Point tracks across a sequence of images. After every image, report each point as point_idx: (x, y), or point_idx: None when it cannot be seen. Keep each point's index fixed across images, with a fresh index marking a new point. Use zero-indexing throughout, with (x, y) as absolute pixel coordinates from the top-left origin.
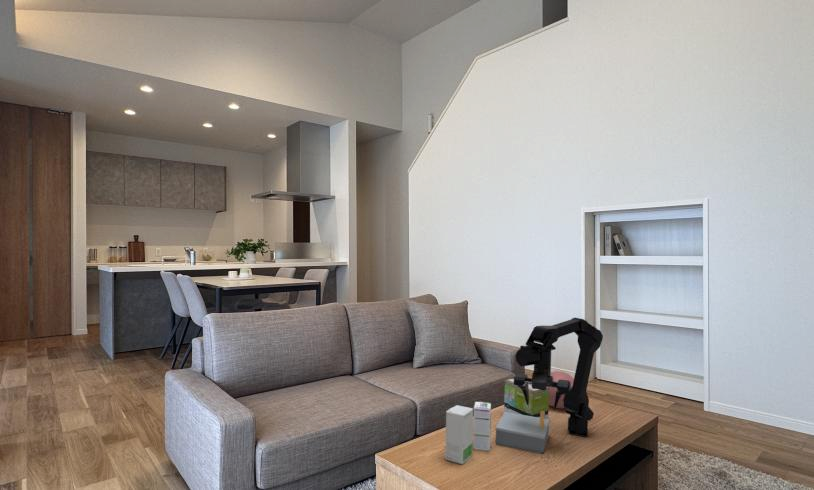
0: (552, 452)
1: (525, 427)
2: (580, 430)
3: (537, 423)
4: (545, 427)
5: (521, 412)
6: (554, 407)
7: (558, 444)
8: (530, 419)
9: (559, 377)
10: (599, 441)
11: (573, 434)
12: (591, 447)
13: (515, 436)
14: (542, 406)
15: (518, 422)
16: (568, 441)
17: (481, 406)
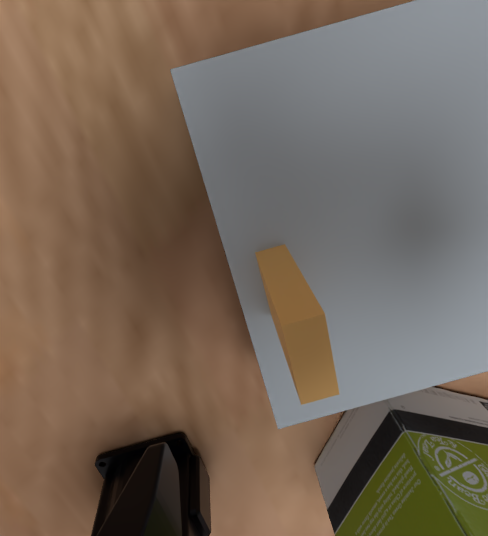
0: (147, 154)
1: (397, 166)
2: (127, 475)
3: (330, 315)
4: (250, 288)
5: (468, 431)
6: (154, 470)
7: (171, 289)
8: (396, 344)
9: None
10: (30, 456)
11: (160, 438)
12: (16, 376)
13: None
14: (373, 533)
15: (473, 227)
16: (146, 359)
17: None
